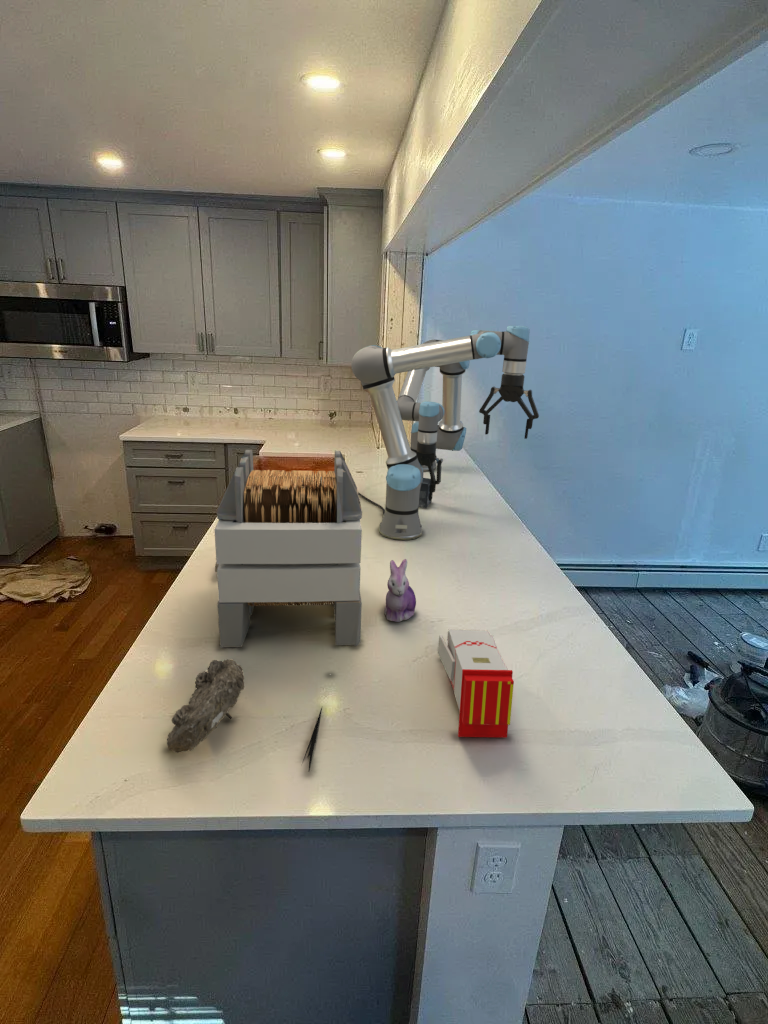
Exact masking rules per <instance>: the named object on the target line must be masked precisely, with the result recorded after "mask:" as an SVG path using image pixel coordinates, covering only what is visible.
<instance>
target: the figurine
mask: <svg viewBox="0 0 768 1024" xmlns="http://www.w3.org/2000/svg"><path fill="white" fill-rule="evenodd" d="M407 567H408V559H406V558H404V559H403V560H402V561H401V563H400V565H399V566H398V565H397V563H396V562H395V561H394V560H393V559H391V560H390V561H389V570H390V576H389V578H388V579H387V589H388V591H387V592H386V594H385V595H386V596H385V607H384V615H385V616H386V620H387V621H391V622H395V623H400V622H402V621H406V620H409V619H410V618H411V617H413V616H414V615H415V610H416V606H417V597H416V593H415V591H414V590H413V587H411V586H410V582H409V579H408V577H407V574H406V571H407Z"/></svg>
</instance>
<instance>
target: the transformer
mask: <svg viewBox="0 0 768 1024" xmlns="http://www.w3.org/2000/svg"><path fill="white" fill-rule="evenodd" d="M333 464H334V466H333V469H334V470H328V471H327V472H326V471H325V470H318V471H317V470H315V471H314V470H295V469H294V470H291V471H290V470H289V471H288V470H287V471H286V470H283V469H282V470H280V469H279V470H277V469H271V470H270V469H266V470H265V469H263V470H260V469H254V454H253V449H247V448H246V449H245V450H244V452H243V453H242V456H241V458H240V460H239V462H238V465H237V467H236V468H235V470H234V472H233V474H232V476H231V478H230V480H229V483H228V485H227V487H226V490H225V492H224V494H223V496H222V498H221V501H220V503H219V505H218V507H217V510H216V518H217V523H216V524H215V527H214V546H215V561H216V562H215V564H219V566H218V568H217V572H216V576H217V577H216V578H217V593H218V600H217V620H218V621H217V622H218V630H219V642H220V644H219V648H220V649H227V648H242V646H243V644H244V642H245V639H246V636H247V633H248V631H249V629H250V626H251V617H252V616H253V612H254V608H255V607H257V606H258V607H260V606H261V607H262V606H263V607H264V606H265V607H271V606H272V607H274V606H276V607H277V606H280V607H281V606H286V607H287V606H291V607H292V606H324V605H325V606H330V605H331V606H333V614H334V635H335V636H334V641H335V646H355V647H356V646H358V645H360V644H361V636H362V635H361V633H362V632H361V630H362V596H361V570H362V569H361V562H362V561H361V560H362V536H363V535H362V534H363V533H362V532H363V531H362V530H363V529H362V524H361V519H362V518H363V510H362V505H361V499H360V495H358V492H359V491H358V487H357V484H356V482H355V480H354V478H353V475H352V474H351V472H350V471H351V470H350V469H349V467H348V465H347V462H346V461H345V458H344V456H343V454H342V452H341V450H338V449H337V450H334V463H333Z"/></svg>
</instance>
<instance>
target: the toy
mask: <svg viewBox="0 0 768 1024" xmlns="http://www.w3.org/2000/svg"><path fill="white" fill-rule="evenodd" d="M446 640H447V643H446V641H445V639H444V636H443V635H442V634H439V637H438V646H437V656H438V657H439V659H440V661H441V663H442V666H443V668H444V670H445V672H446V674H447V677H448V679H449V681H450V684H451V687H452V690H453V693H454V697H455V701H456V705H457V708H458V711H459V714H458V715H459V716H458V730H457V731H458V732H457V737H458V738H508V731H509V726H510V725H511V717H512V707H513V697H514V696H513V695H514V684H515V680H514V679H513V673H514V671H513V670H512V669H508V667H507V665H506V662H505V661H504V659H503V658H502V655H501V653H500V651H499V649H498V647H497V643H496V639H495V637H494V635H493V634H491V632H490V631H489V629H467V628H466V629H465V628H463V629H461V628H460V629H459V628H448V630H447V639H446Z"/></svg>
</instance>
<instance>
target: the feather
mask: <svg viewBox="0 0 768 1024" xmlns="http://www.w3.org/2000/svg"><path fill="white" fill-rule="evenodd" d="M329 675H330V676H331V675H332V674H331V673H330V674H329ZM322 710H323V707H321V708H320V710H319V713H318V716H317V719H316V723H315V725H314V728H313V731H312V733H311V737H310V739H309V742H308V745H307V748H306V751H305V754H304V757H303V760H302V763H301V767H302V765H303V763H304V761H305V758H308V759H309V760H308V762H307V763H308V764H307V766H308V771H310V770H311V766H312V765H311V764H312V760H313V757H315V756H314V755H315V751H316V749H315V746H317V739H318V733H319V729H320V722H321V717H322V712H323V711H322ZM313 754H314V755H313ZM306 755H307V757H306Z"/></svg>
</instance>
